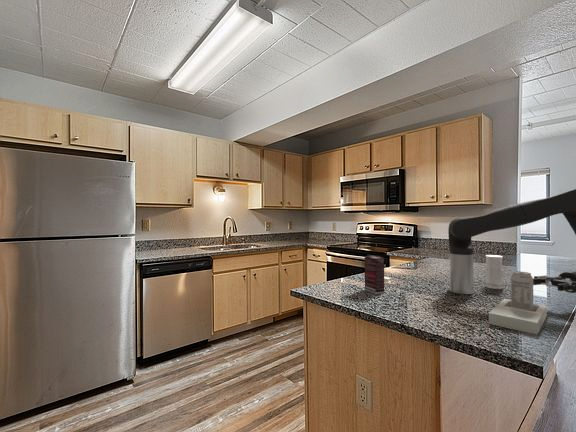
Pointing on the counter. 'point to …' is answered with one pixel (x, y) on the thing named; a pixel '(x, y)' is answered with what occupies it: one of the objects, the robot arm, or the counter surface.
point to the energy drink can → (522, 290)
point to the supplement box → (374, 274)
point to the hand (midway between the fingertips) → (545, 284)
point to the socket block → (518, 317)
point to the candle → (494, 271)
